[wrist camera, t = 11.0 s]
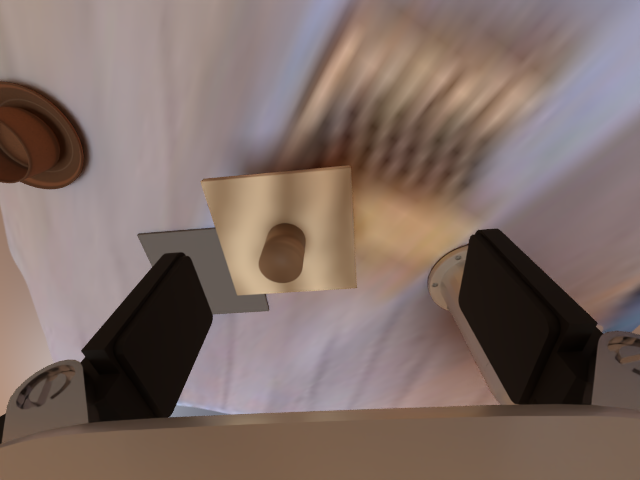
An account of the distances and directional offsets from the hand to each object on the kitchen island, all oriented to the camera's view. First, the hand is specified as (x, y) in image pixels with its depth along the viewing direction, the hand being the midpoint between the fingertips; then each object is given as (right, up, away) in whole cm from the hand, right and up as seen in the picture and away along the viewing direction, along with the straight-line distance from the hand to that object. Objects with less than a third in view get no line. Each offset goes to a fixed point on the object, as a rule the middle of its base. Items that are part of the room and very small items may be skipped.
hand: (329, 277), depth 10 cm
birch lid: (-4, +2, +21) cm, 21 cm away
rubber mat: (-18, -4, +36) cm, 40 cm away
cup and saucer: (-34, +14, +26) cm, 45 cm away
